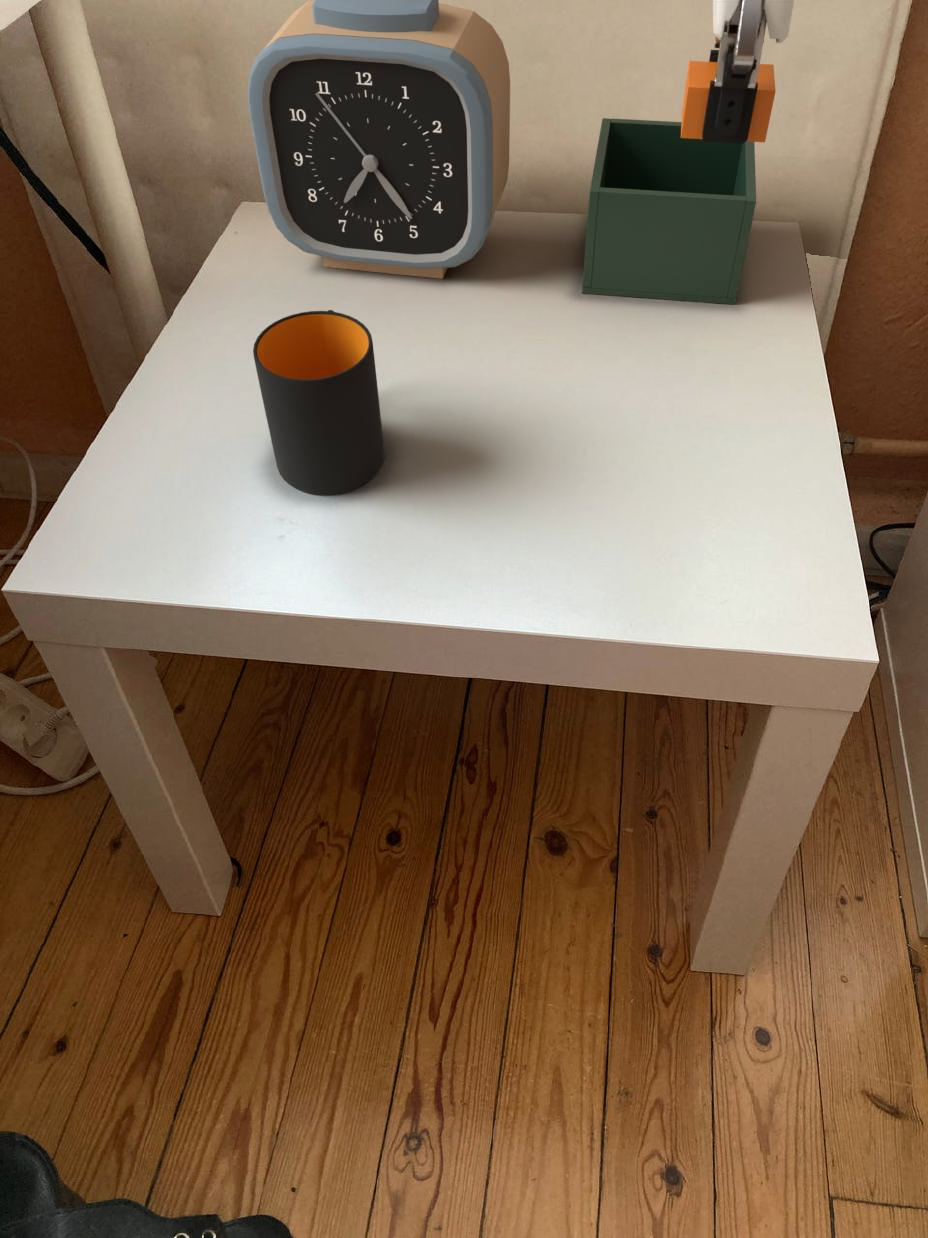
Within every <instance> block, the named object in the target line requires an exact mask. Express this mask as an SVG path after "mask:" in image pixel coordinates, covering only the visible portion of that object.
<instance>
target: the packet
mask: <svg viewBox="0 0 928 1238" xmlns="http://www.w3.org/2000/svg"><path fill="white" fill-rule="evenodd" d="M716 68H717V62H709V61H702V60H700V61H699V60H688V66H687V73H686V78H685V79H686V80H685V87H684V95H683V102H682V108H681V109H682V110H681V122H682V123H681V138H690V139H702V132H703V125H704V119H705V113H706V106H707V100H708V94H709V88H710V81H715V75H716ZM756 83H758V88H757V93H756V98H755V104H754V109H753V114H752V119H751V124H750V129H749V134H748V139H747V142H754V143H766V140H767V134H768V129H769V124H770V120H771V115H772V111H773V106H774V102H775V97H776V81H775V67H774V64H770V63H760V64H759V70H758V76H757V82H756Z"/></svg>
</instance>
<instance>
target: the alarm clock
mask: <svg viewBox="0 0 928 1238" xmlns="http://www.w3.org/2000/svg"><path fill="white" fill-rule="evenodd" d="M439 1H440V0H308V1H307V2H305V3H304V4H303V5H301V6H300V7H299V8H298V9H296V10H295V11H294V12H292V14H291V15H290V16H289V17H288V18H287V20H286V21H285V22H284V23H283V25H282V26H281V27H280V28H279V29H278V31H277V32H275V34H274V35H273V37H272V38H271V39H270V41H269V42H268V43H267V44H266V45H265V47H263V49H261V51H260V53H258V55H257V56H256V58H255V61H254V63H253V65H252V67H251V69H250V71H249V77H248V86H247V91H246V95H247V103H248V104H247V106H248V115H249V119H250V125H251V131H252V138H253V142H254V149H255V153H256V160H257V164H258V169H259V176H260V181H261V187H262V193H263V197H264V200H265V204H266V207H267V211H268V213H269V215H270V217H271V219H272V221H273V223H274V225H275V227H276V229H277V230H278V231H279V232H280V234H282V236H283V237H284V238H285V239H286V241H288V242H289V243H291V244H292V245H293V246H295V247H296V248H298V249H300V251H302V252H304V253H307V254H311V255H315V256H318V257H322V263H323V267H324V268H333V269H341V270H350V271H351V270H352V271H360V272H361V271H362V272H370V273H371V272H372V273H382V274H392V275H400V276H401V275H403V276H410V277H411V276H412V277H422V278H430V279H431V278H432V279H441V280H443V279H444V277H445V274H446V273H447V270H448V268H457V267H458V266H460V265H462V264H465V263H466V262H468V261H470V260H472V259H473V258H474V257H475V255H476V254H477V253H478V252H479V251H480V250H481V249H482V247H483V246H484V243H485V240H486V238H487V235H488V233H489V229H490V228H491V226H492V222H493V220H494V217H495V214H496V211H497V209H498V206H499V204H500V201H501V198H502V196H503V193H504V191H505V187H506V185H507V182H508V178H509V177H508V176H509V168H510V139H511V138H510V136H511V135H510V132H511V131H510V130H511V129H510V127H511V124H510V123H511V76H510V75H511V74H510V63H509V59H508V55H507V52H506V49H505V46H504V42H503V39H501V38H500V35H499V34H498V33H497V31H496V29H495V28H494V27H493V24H491V23H489V22H488V21H487V20H486V19H485V18H483V17H482V16H481V15H480V14H478V13H477V12H476V11H474V10H472V9H471V10H470V9H467V8H462V7H458V6H454V5H450V4H445V3H442V2H439Z"/></svg>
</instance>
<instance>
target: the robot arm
mask: <svg viewBox="0 0 928 1238" xmlns="http://www.w3.org/2000/svg"><path fill="white" fill-rule="evenodd" d="M794 3H795V0H712V33H713V35H714V36H715V39H714V47H713V48H714V49H710V52H709V60H708V62H717V68H716V75H715V81H710V88H709V94H708V100H707V106H706V113H705V119H704V125H703V132H702V139H703V140H704V141H705V142H717V143H736V144H743V143H745V142H746V141H747V139H748V134H749V129H750V124H751V119H752V114H753V109H754V104H755V98H756V93H757V88H758V83H756V82H757V76H758V70H759V64H761V59H762V58H761V57H762V53H763V52H762V51H763V46H764V43H765V35H766V28H767V30H768V36H769V39H770V40H775V42H776V44H781V43H782V42H784V41H785V40H786V39H787V38H788V37H789V32H790V28H791V22H792V16H793V11H794V10H793V9H794Z"/></svg>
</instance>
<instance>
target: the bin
mask: <svg viewBox="0 0 928 1238" xmlns="http://www.w3.org/2000/svg"><path fill="white" fill-rule="evenodd" d="M681 123H682V121H668V120H667V121H666V120H650V119H648V120H647V119H631V118H630V119H629V118H609V117H607V118H606V117H605V118H604V117H603V118H602V119H601V124H600V130H599V136H598V142H597V147H596V152H595V153H596V154H595V158H594V164H593V170H592V176H591V181H590V187H589V195H588V208H587V221H586V233H585V246H584V247H585V248H584V261H583V274H582V286H581V287H582V289H581V294H587V295H588V294H589V295H601V296H602V295H603V296H613V297H614V296H615V297H616V296H617V297H630V298H641V299H642V298H643V299H655V300H669V301H685V302H696V303H709V304H711V303H713V304H723V305H724V304H725V305H736V303H737V297H738V292H739V288H740V282H741V278H742V272H743V269H744V264H745V259H746V255H747V248H748V244H749V239H750V234H751V230H752V226H753V220H754V215H755V210H756V206H757V181H756V178H757V177H756V149H755V145H756V144H755V142H747V141H746V142H745V143H743V144H736V143H717V142H705V141H704V140H703V139H690V138H681Z"/></svg>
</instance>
